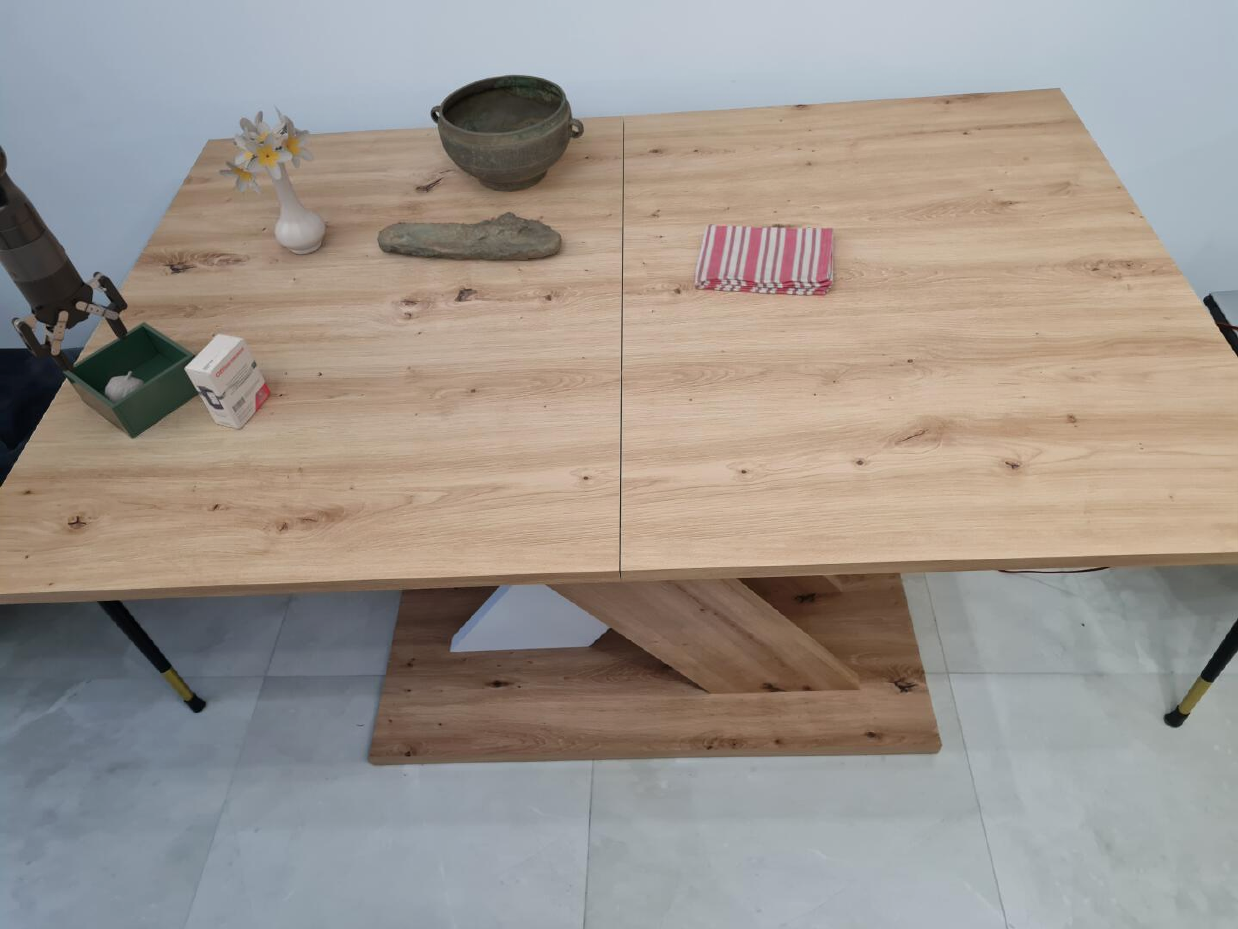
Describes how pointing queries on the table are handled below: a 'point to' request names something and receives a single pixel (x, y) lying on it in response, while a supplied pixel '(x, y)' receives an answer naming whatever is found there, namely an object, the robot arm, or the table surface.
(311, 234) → the flower vase
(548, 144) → the bowl
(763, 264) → the dish towel
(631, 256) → the table surface
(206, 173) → the table surface
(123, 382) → the garlic
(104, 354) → the green tapered tray
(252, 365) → the ink box
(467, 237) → the elongated rock
